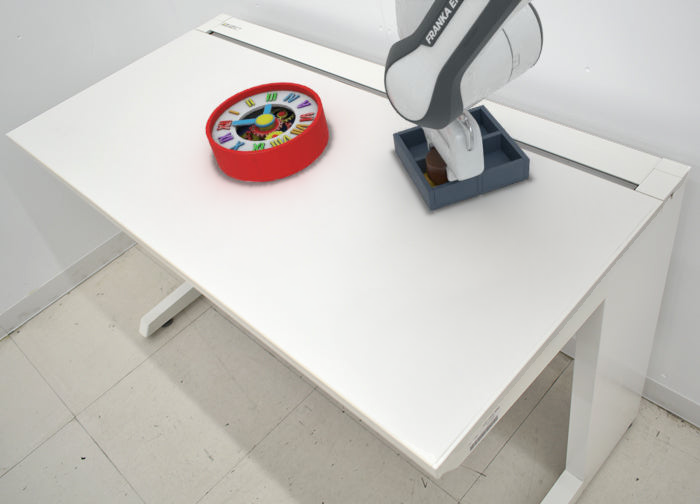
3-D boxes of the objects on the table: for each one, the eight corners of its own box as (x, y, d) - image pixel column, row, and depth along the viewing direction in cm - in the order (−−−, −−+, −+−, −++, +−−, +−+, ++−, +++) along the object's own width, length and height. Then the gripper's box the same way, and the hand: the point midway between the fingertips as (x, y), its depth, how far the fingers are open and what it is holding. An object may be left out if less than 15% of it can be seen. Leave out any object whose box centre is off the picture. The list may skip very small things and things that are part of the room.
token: (453, 158, 91) (452, 142, 89) (467, 177, 87) (466, 161, 85) (422, 168, 90) (420, 152, 88) (434, 188, 87) (433, 172, 85)
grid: (483, 123, 99) (483, 104, 97) (528, 178, 89) (530, 159, 86) (395, 151, 98) (392, 133, 96) (430, 211, 88) (428, 192, 85)
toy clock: (315, 147, 93) (192, 159, 96) (323, 176, 97) (205, 187, 100) (327, 76, 106) (219, 88, 109) (333, 104, 110) (229, 115, 114)
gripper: (497, 115, 71) (496, 201, 81) (432, 39, 85) (437, 121, 95) (446, 131, 70) (451, 216, 80) (389, 52, 84) (400, 133, 94)
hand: (443, 164), depth 88 cm, fingers closed on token, 5 cm apart
